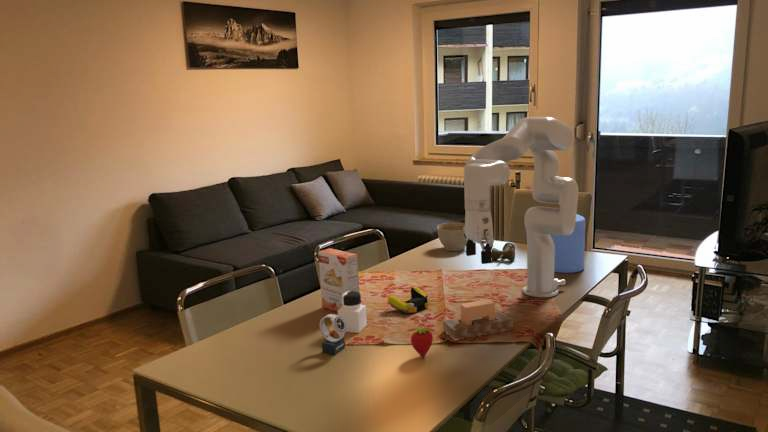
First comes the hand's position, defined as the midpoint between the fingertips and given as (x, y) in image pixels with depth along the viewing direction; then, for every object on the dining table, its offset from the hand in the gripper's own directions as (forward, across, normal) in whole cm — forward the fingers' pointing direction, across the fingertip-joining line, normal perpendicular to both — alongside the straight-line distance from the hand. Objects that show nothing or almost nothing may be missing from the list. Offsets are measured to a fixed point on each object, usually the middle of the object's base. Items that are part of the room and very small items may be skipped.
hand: (478, 259), depth 190 cm
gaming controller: (+23, +26, +13) cm, 37 cm away
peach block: (+22, -2, +2) cm, 23 cm away
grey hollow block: (+22, -2, +2) cm, 23 cm away
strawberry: (+22, -12, +25) cm, 35 cm away
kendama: (+24, +64, -47) cm, 83 cm away
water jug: (+24, +40, -61) cm, 77 cm away
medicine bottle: (+22, +17, +37) cm, 46 cm away
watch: (+22, +3, +47) cm, 52 cm away
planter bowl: (+24, +89, -35) cm, 98 cm away
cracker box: (+22, +35, +36) cm, 55 cm away
